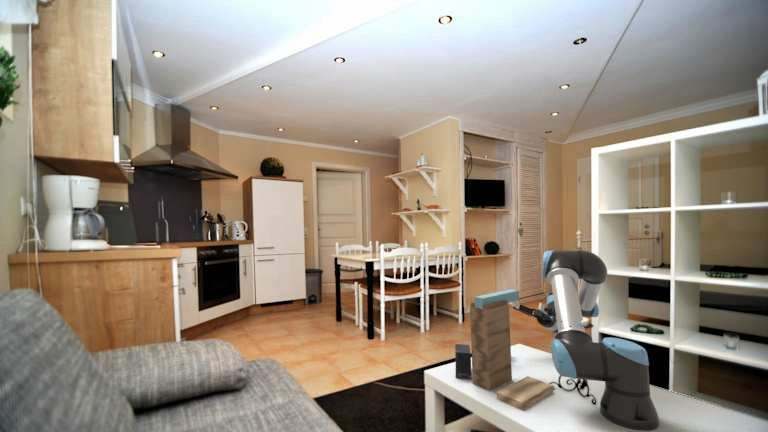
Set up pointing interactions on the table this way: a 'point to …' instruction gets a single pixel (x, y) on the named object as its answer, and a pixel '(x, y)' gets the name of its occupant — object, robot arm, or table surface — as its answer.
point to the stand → (491, 345)
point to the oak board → (524, 392)
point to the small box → (463, 361)
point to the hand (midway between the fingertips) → (525, 303)
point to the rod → (496, 297)
